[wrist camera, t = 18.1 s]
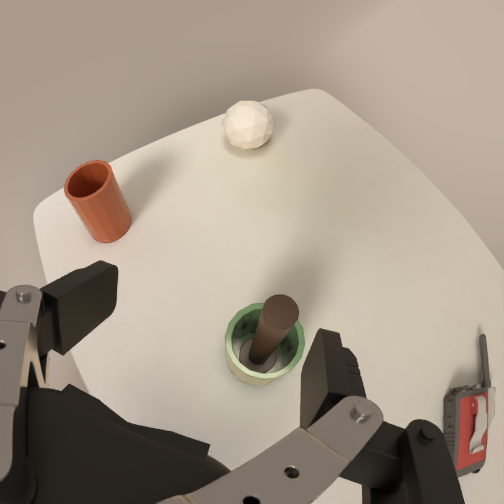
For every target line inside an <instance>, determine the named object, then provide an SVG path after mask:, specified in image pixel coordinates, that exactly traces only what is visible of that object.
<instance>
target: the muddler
mask: <svg viewBox="0 0 504 504" xmlns="http://www.w3.org/2000/svg"><path fill="white" fill-rule="evenodd" d="M298 316H299V309H298V306H297V304H296V302H295V301H294V300H293V299H292V298H290V297H288V296H286V295H274V296H272V297H270V298H269V299H267V300H266V302H265V303H264V305H263V308H262V312H261V315H260V318H259V322H258V325H257V328H256V331H255V334H254V338H251V339H249V340H247V341H246V342H245V343H244V344H243V345H242V347H241V349H240V353H239V360H240V362H241V363H242V364H243V365H245V366H246V367H247V368H248V369H250V370H253V371H257V372H260V373H266V372H268V371H269V370H270V369H272V368H273V366H274V365H275V363H276V360H277V351H276V348H277V347H278V345H279V344H280V343H281V341H282V340H283V339H284V337H285V336H286V335H287V333H288V332H289V331H290V329H291V328H292V327H293V325H294V324H295V323H296V321H297V319H298Z"/></svg>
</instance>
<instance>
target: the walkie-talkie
mask: <svg viewBox="0 0 504 504" xmlns="http://www.w3.org/2000/svg"><path fill="white" fill-rule="evenodd" d="M479 339H480V348H481V358H482V372H483V381H482V388H481V387H480V384H478V385H474V386H473V389H472V390H469V391H466V390H467V389H468V386H462V387H457V388H454V389H453V392H455V394H452V395H447V396H446V397H445V399H444V437H445V440H446V443H447V446H448V449H449V452H450V455H451V458H452V461H453V464H454V467H455V470H456V474H457V477H461V476H463V475H466V474H468V473H470V472H472V473H478V472H479V471H480V469H481V468H482V467H483V465H484V463H485V458H486V447H487V435H488V434H487V432H488V429H489V427H490V425H491V422H492V420H493V418H494V415H495V387H493V388H491V383H490V379H489V364H488V353H487V343H486V336H485V335H484V334H482V335H480V338H479Z"/></svg>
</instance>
